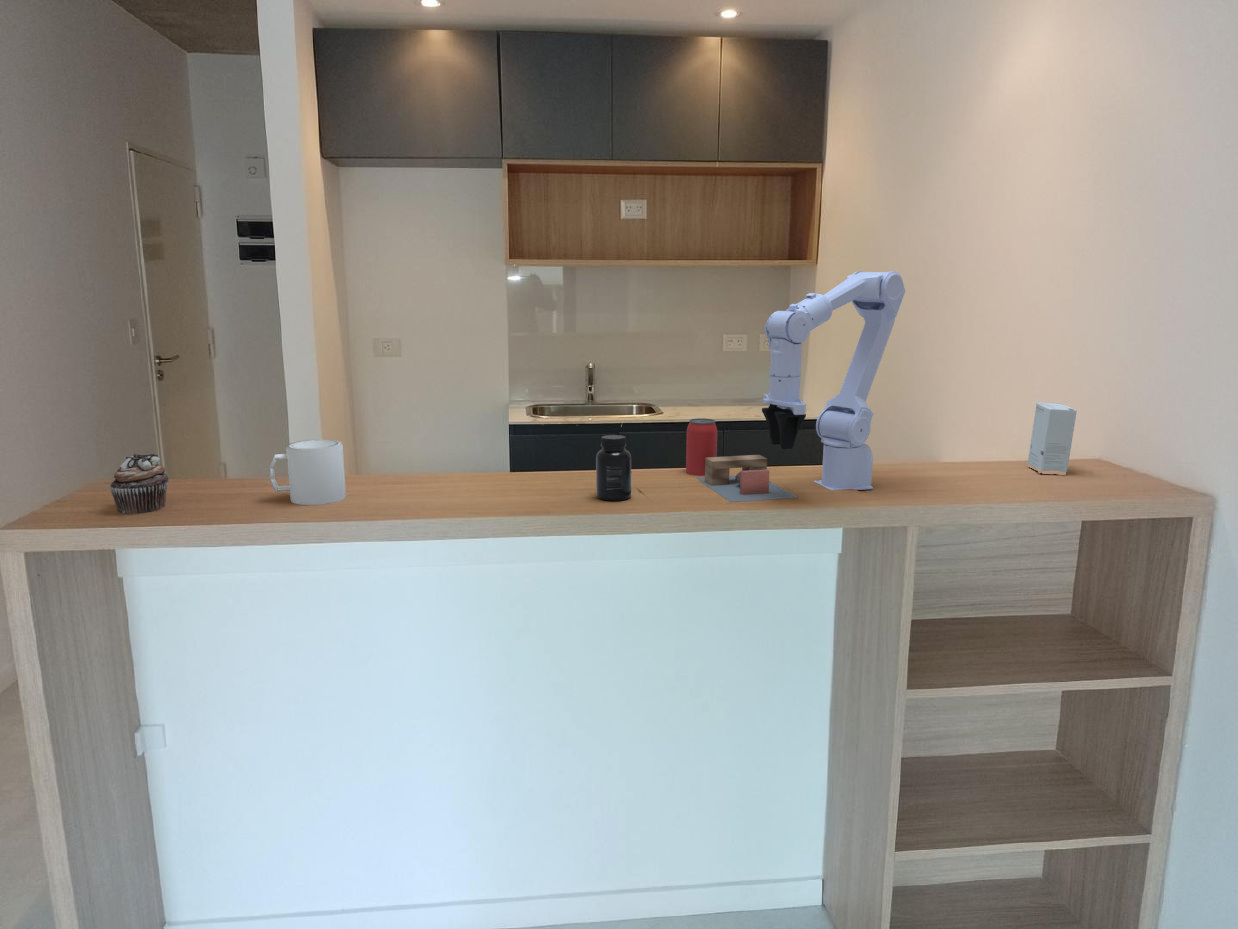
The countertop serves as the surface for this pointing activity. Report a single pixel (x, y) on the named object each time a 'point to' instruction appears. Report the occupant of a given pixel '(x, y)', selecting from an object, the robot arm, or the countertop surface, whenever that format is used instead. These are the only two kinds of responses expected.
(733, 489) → the mat
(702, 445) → the beer can
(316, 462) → the mug
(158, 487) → the cupcake
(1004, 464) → the countertop surface
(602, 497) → the supplement bottle
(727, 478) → the block
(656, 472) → the countertop surface
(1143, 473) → the countertop surface
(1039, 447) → the skincare box
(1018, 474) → the countertop surface
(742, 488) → the pin
